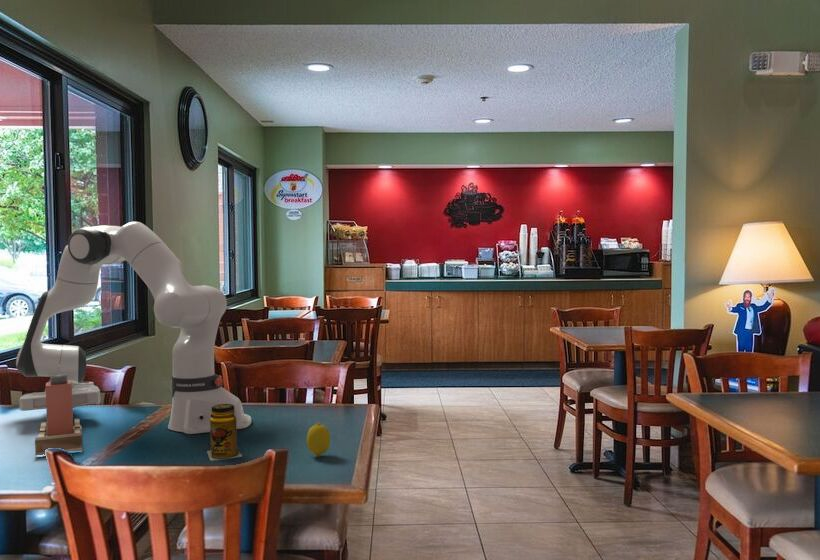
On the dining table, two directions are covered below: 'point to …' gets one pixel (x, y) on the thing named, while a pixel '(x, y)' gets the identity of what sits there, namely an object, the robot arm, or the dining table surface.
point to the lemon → (318, 439)
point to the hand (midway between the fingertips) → (60, 404)
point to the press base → (59, 439)
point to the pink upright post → (59, 405)
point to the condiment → (223, 433)
